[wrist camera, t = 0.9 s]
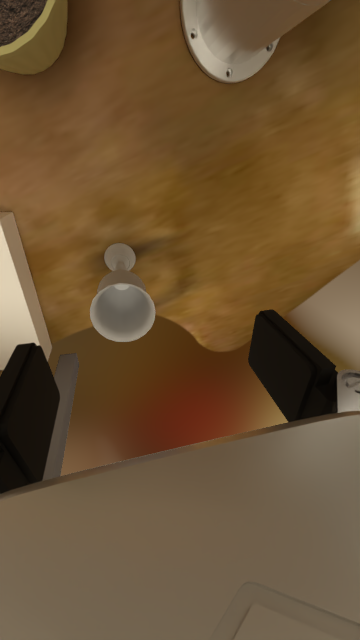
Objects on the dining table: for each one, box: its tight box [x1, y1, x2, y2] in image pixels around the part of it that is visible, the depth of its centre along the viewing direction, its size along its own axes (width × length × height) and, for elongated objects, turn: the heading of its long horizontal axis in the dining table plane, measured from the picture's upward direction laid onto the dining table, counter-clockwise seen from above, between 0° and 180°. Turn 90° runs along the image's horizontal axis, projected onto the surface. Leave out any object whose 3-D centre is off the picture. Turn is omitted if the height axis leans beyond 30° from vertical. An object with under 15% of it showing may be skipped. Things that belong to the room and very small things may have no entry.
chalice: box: [90, 243, 155, 342], centre depth 34 cm, size 7×7×18 cm
